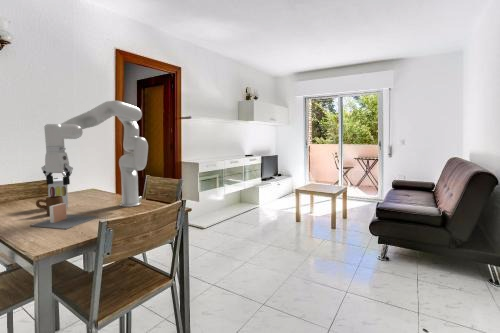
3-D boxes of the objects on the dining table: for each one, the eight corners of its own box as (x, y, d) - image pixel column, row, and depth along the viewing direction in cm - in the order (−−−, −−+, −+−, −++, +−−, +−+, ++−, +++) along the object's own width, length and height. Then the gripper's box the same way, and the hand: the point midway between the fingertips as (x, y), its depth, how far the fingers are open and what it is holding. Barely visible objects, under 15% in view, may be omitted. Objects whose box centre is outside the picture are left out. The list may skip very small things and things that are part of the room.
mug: (37, 218, 146) (35, 200, 146) (36, 215, 152) (35, 197, 151) (64, 214, 154) (63, 197, 153) (62, 211, 160) (61, 195, 159)
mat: (66, 215, 152) (66, 214, 152) (98, 217, 148) (98, 216, 148) (30, 226, 133) (30, 225, 133) (66, 229, 129) (66, 228, 129)
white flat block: (62, 218, 145) (61, 203, 144) (66, 218, 144) (65, 203, 143) (50, 222, 138) (49, 206, 137) (54, 222, 137) (53, 206, 137)
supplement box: (49, 210, 163) (47, 181, 162) (48, 207, 171) (47, 179, 169) (68, 207, 169) (67, 179, 167) (67, 204, 176) (66, 178, 175)
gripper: (76, 149, 140) (79, 183, 142) (47, 149, 143) (50, 182, 145) (64, 150, 133) (66, 186, 134) (33, 149, 136) (36, 185, 138)
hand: (58, 184), depth 140 cm, fingers open, 9 cm apart
